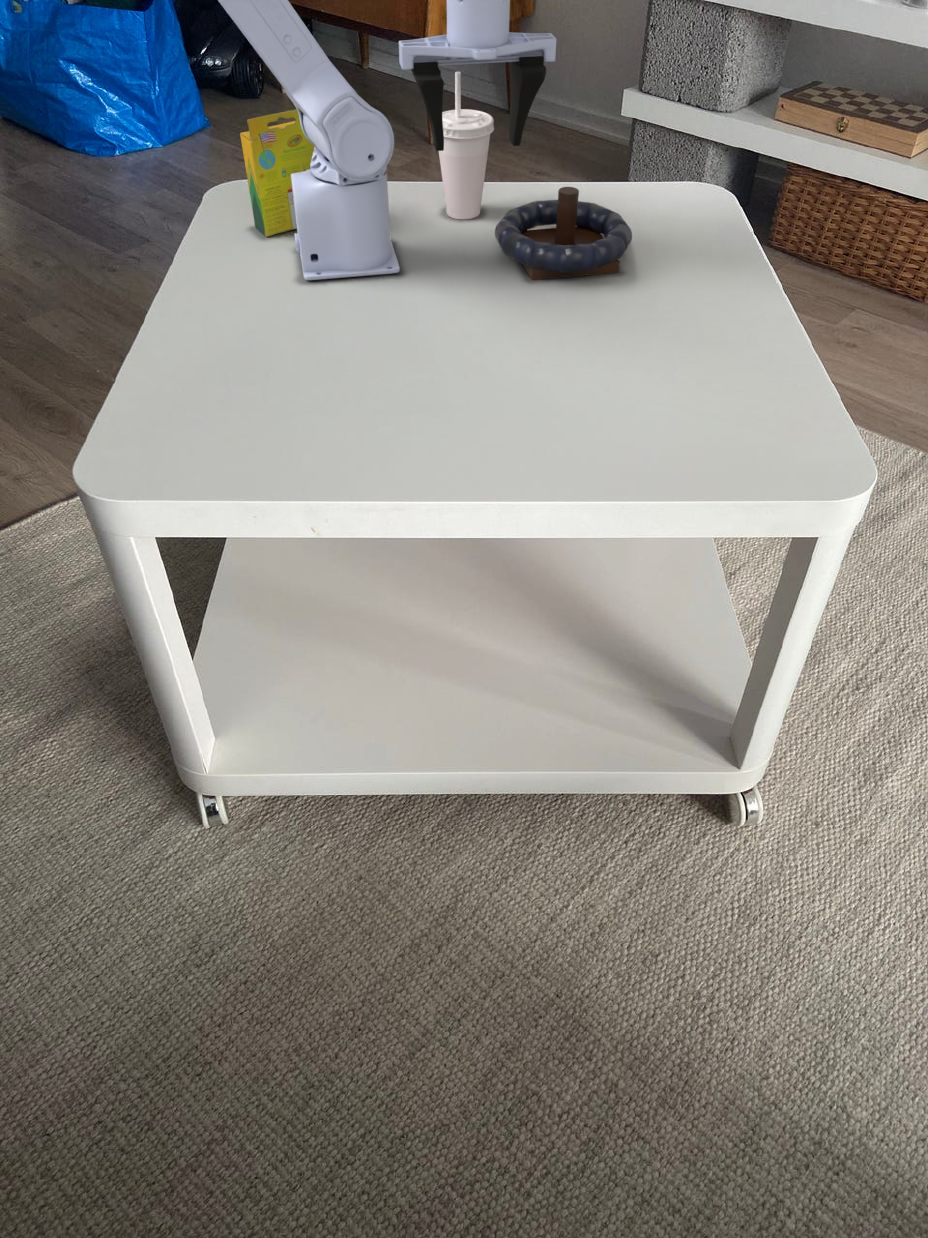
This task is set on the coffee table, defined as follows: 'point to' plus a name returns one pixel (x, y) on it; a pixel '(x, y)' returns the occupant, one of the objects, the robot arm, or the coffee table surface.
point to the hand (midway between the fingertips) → (476, 144)
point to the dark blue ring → (563, 255)
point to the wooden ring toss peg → (567, 236)
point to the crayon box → (274, 169)
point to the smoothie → (464, 157)
